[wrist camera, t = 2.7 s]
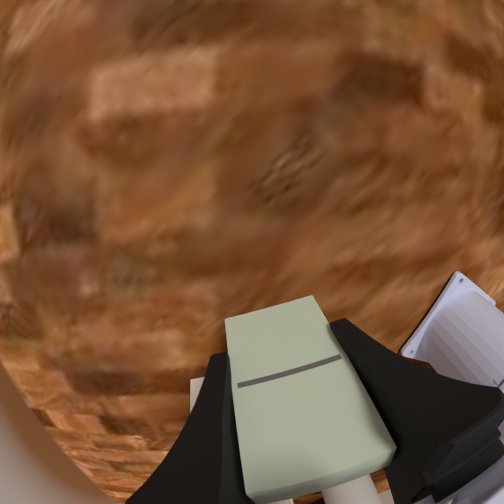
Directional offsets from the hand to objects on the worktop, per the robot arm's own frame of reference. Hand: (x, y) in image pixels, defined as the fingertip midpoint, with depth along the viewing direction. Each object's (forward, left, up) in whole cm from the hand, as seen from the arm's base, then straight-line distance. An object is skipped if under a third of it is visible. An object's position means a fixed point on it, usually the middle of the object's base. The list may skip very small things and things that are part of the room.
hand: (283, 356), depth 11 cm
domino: (0, 0, -3) cm, 2 cm away
